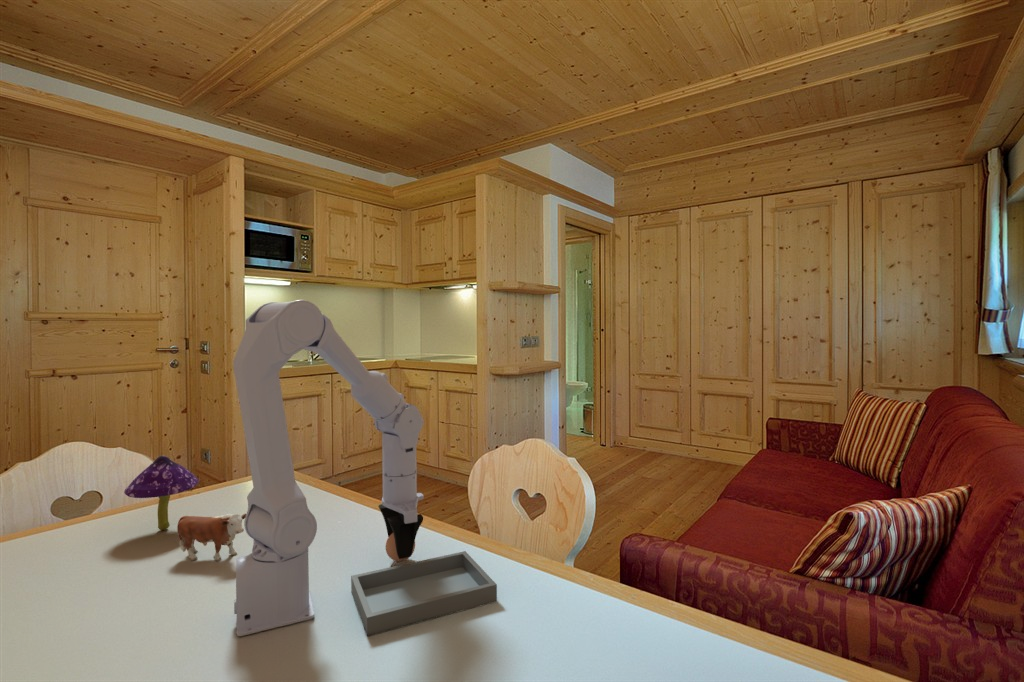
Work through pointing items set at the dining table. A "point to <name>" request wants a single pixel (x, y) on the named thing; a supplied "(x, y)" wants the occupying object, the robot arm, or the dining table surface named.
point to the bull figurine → (209, 532)
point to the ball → (394, 549)
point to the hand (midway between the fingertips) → (400, 550)
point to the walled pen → (420, 591)
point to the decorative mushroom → (161, 485)
